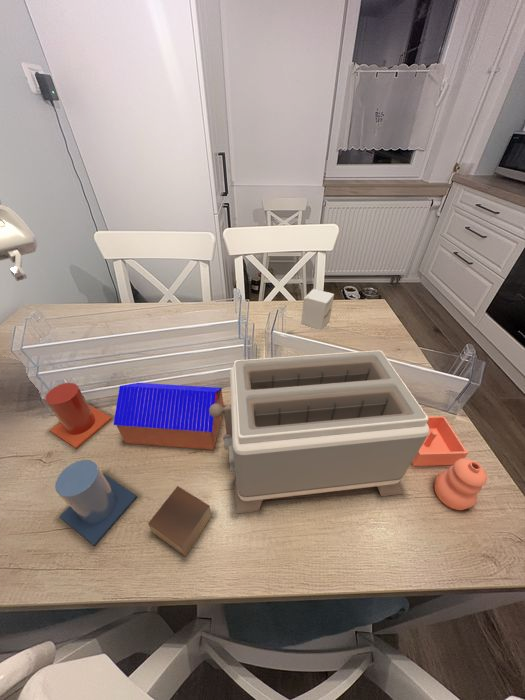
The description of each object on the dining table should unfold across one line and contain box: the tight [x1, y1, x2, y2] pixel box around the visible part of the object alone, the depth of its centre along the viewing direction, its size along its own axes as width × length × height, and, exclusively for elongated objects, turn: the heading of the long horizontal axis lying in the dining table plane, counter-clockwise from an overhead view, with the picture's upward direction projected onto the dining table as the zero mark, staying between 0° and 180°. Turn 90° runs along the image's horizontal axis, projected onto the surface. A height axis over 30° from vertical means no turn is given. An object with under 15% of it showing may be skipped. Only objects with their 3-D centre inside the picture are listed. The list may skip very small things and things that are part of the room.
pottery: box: [411, 415, 488, 511], centre depth 56 cm, size 18×10×10 cm, turn 2°
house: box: [113, 382, 225, 450], centre depth 63 cm, size 12×20×12 cm, turn 85°
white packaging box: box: [300, 288, 335, 330], centre depth 93 cm, size 7×7×13 cm
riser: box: [147, 485, 213, 557], centre depth 49 cm, size 7×7×4 cm
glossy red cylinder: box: [44, 382, 95, 435], centre depth 63 cm, size 6×6×10 cm
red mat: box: [49, 403, 113, 449], centre depth 66 cm, size 9×9×1 cm
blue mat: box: [59, 472, 138, 547], centre depth 52 cm, size 9×9×1 cm
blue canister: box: [54, 459, 117, 524], centre depth 49 cm, size 6×6×10 cm
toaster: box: [209, 349, 429, 515], centre depth 54 cm, size 19×34×20 cm, turn 97°
